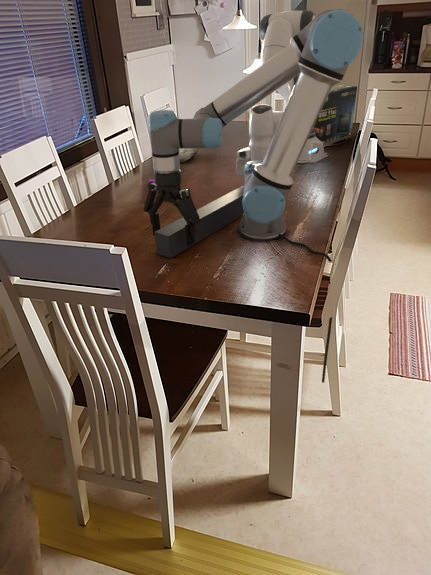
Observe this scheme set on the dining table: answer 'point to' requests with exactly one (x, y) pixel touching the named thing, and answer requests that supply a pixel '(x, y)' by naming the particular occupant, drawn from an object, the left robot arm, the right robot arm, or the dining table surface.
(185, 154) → the fossil
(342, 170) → the dining table surface
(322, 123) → the router box
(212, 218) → the bar
